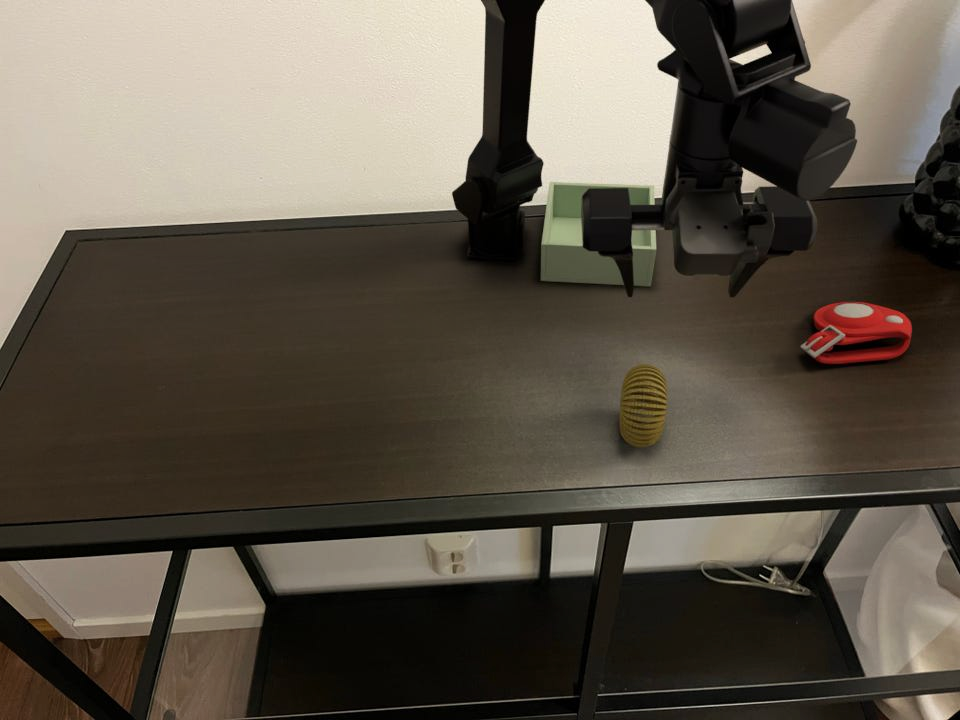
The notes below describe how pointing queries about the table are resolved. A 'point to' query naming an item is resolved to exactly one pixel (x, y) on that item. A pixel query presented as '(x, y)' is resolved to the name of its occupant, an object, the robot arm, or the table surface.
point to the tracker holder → (857, 332)
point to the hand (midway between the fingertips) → (680, 294)
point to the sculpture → (643, 405)
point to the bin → (565, 244)
